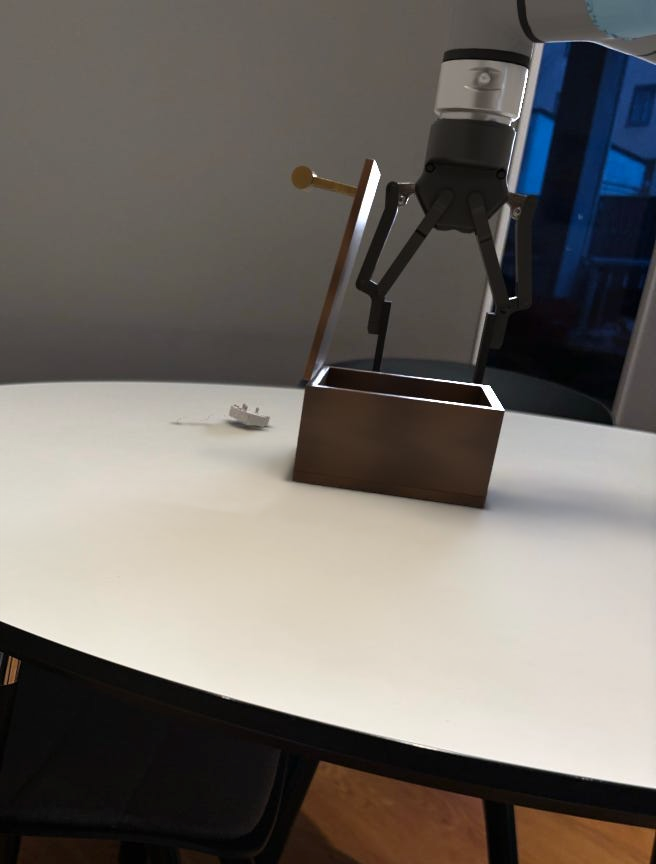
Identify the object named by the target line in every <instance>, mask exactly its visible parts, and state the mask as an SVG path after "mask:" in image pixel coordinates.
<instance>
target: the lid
mask: <svg viewBox="0 0 656 864" xmlns="http://www.w3.org/2000/svg"><path fill="white" fill-rule="evenodd" d="M380 177H381V172H380V171H379V167H378V165H377V162H376V160H375V159H373V158H371V157H365V159H364V163H363V166H362V170H361V172H360V176H359V179H358V183H357V186H353V185H350V184H346V183H342V182H340V181H339V182H338V181H335V180H330V179H327V178H323V177H319V176H318V175H317V173H316V172H315V171H314V170H313V169H312V168H310V167H309V166H308V165H305V164H301V165H298V166H296V167H295V168H294V169H293V170H292V172H291V175H290V180H291V184H292V185H293V187H295V189H297V190H300V191H302V192H303V193H311V192H313V191H315V190H316V189H321V190H325V191H328V192H332V193H336V194H340V195H344V196H346V197H347V196H348V197H351V198H353V201H352V204H351V207H350V210H349V215H348V218H347V222H346V225H345V228H344V233H343V235H342V239H341V242H340V246H339V249H338V253H337V257H336V260H335V263H334V265H333V266H334V267H333V270H332V273H331V277H330V281H329V284H328V287H327V291H326V294H325V298H324V302H323V305H322V308H321V312H320V315H319V319H318V322H317V324H316V325H317V326H316V328H315V332H314V336H313V340H312V343H311V346H310V350H309V353H308V357H307V361H306V364H305V366H304V367H305V368H304V371H303V375H302V377H301V379H302V380H305V381H310V380H311V379H312V378H313V376H314V375H315V374H316V373H317V371H318V370H319V369H320V367H321V366H322V365H324V363H325V362H326V360H327V356H328V353H329V351H330V347H331V344H332V343H331V342H332V340H333V337H334V333H335V329H336V326H337V323H338V319H339V316H340V313H341V309H342V306H343V302H344V300H345V299H344V298H345V296H346V293H347V288H348V286H349V282H350V279H351V276H352V272H353V269H354V265H355V262H356V258H357V255H358V252H359V248H360V246H361V242H362V238H363V235H364V232H365V228H366V224H367V221H368V218H369V214H370V211H371V209H372V208H371V207H372V204H373V201H374V197H375V195H376V191H377V187H378V183H379V181H380Z"/></svg>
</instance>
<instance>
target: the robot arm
mask: <svg viewBox="0 0 656 864" xmlns="http://www.w3.org/2000/svg"><path fill="white" fill-rule="evenodd" d="M451 4H452V5H451V10H450V18H449V24H448V31H447V36H446V44H445V50H444V53H443V57H442V63H441V65H440V70H439V76H438V83H437V89H436V94H435V100H434V107H433V112H434V114H435V115H437V116H438V118H437V119H436V120H434V121H433V123H432V124H430V129H429V135H428V139H427V140H428V141H427V146H426V152H425V158H424V163H423V169H422V172H421V174H420V176H419V178H417V180H416V181H415V182H397V181H394V180H391V181H389V182H388V183H387V184H386V186H385V198H384V200H385V201H384V209H383V212H382V214H381V216H380V220H379V222H378V224H377V227H376V230H375V232H374V234H373V237H372V239H371V242H370V245H369V247H368V250H367V251H366V255H365V258H364V260H363V262H362V265H361V267H360V270H359V272H358V275H357V278H356V280H355V283H354V285H355V288H356V290H358V291H360V292H362V293H364V294H366V295H368V296H369V297H370V301H371V303H370V309H369V315H368V322H367V327H366V329H367V333H368V335H375V336H376V335H377V340H376V346H375V352H374V357H373V362H372V369H371V371H373V372H381V369H382V363H383V357H384V352H385V351H384V350H385V347H386V340H387V334H388V329H389V322H390V316H391V310H392V305H393V301H392V300H386V296H387V294H388V293H389V291H390V290H391V288H392V287H393V286H394V284H395V282H396V281H397V280H398V279H399V277H400V275H401V274H402V273H403V271H404V270H405V268H406V267H407V265H408V264H409V263H410V261H411V260H412V258H413V257H414V256H415V254H416V253H417V251H418V250H419V248H420V247H421V245H423V243H424V241H425V240H426V238H427V237H428V236H429V234H430V233H431V232H432V230H433V229H434V230H435V231H436V232H450V231H455V232H457V233H461V234H464V235H465V234H466V235H471V234H474V236H475V240H476V244H477V246H478V250H479V254H480V257H481V261H482V264H483V268H484V271H485V275H486V279H487V282H488V286H489V289H490V293H491V297H492V301H493V304H494V307H495V308H494V312H491V311H490V312H489V311H486V312H485V318H484V323H483V326H482V331H481V336H480V341H479V346H478V352H477V356H476V360H475V365H474V369H473V370H474V371H473V374H472V375H473V376H472V384H476V385H483V381H484V376H485V372H486V367H487V362H488V357H489V352H490V349H492V350H500V349H501V347H502V346H503V344H504V339H505V334H506V329H507V325H508V320H509V317H510V316H511V315H512V314H513V313H515V312H519V311H522V310H527V309H530V308H531V307H532V305H533V265H532V264H533V263H532V262H533V261H532V259H533V255H532V254H533V253H532V251H533V250H532V249H533V248H532V245H533V244H532V222H533V219H534V217H535V216H534V215H535V213H536V210H537V207H538V204H539V199H538V197H537V195H535V194H528V195H525V194H520V193H516V192H512V191H510V188H509V185H508V173H509V168H510V163H511V158H512V154H513V149H514V143H515V139H516V134H517V132H516V130H515V127H514V126H512V125H511V124H512V122H515V121H516V120H518V119H519V118H520V114H521V109H522V103H523V99H524V94H525V88H526V83H527V78H528V74H529V69H530V64H531V60H532V56H533V52H534V47H535V44H538V45H539V44H540V45H541V44H549V43H567V42H568V43H569V42H588V43H589V42H590V43H594V44H597V45H600V46H602V47H605V48H607V49H611V50H613V51H615V52H616V51H617V52H619V53H622V54H625V55H628V56H633V57H635V58H637V59H639V60H642V61H645V62H647V63H649V64H653V65H654V66H656V0H452V2H451ZM412 196H415V197H416V199H417V202H418V204H419V206H420V209H421V210H422V212H423V214H424V217H423V218H422V220H421V221H420V223H419V224H418V226H417V227H416V229H414V232H413V233H412V234H411V236H410V237H409V239H407V242H406V243H405V244H404V246H403V247H402V249H401V250H400V252H399V253H398V255H397V256H396V258H395V259H394V260H393V262H392V263H391V265H390V266H389V268H387V271H386V272H385V273H384V275H383V276H382V278H381V279H380V281H379V282H378V283H376V282H375V281H373V280H372V278H373V275H374V272H375V271H376V268H377V266H378V263H379V261H380V258H381V255H382V253H383V250H384V248H385V245H386V243H387V240H388V237H389V235H390V232H391V230H392V227H393V224H394V223H395V220H396V217H397V215H398V211H399V210H398V209H399V208H400V209H401V208H404V207H405V206H406V205H407V203H408V200H409V198H411V197H412ZM504 205H507V206H508V207H509V216H510V218H511V219H513V220H515V223H514V253H515V255H514V256H515V257H514V259H515V261H514V262H515V263H514V264H515V296H514V297H509V294H508V290H507V287H506V283H505V278H504V276H503V272H502V269H501V264H500V261H499V258H498V254H497V253H498V252H497V250H496V247H495V243H494V238H493V234H492V230H491V226H490V223H489V221H490V220H491V219H492V218H493V217H494V216H495V215H496V214H497V213H498V212H499V211H500V210H501V209H502V208H503V206H504Z"/></svg>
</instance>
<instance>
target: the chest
mask: <svg viewBox="0 0 656 864" xmlns="http://www.w3.org/2000/svg"><path fill="white" fill-rule="evenodd" d="M307 381H308V380H307ZM302 399H303V400H302V407H301V414H300V421H299V428H298V436H297V440H296V441H297V442H296V448H295V454H294V463H293V470H292V476H291V481H293V482H300V483H308V484H314V485H322V486H329V487H334V488H340V489H341V488H342V489H350V490H354V491H362V492H369V493H375V494H376V493H377V494H384V495H391V496H397V497H398V496H399V497H404V498H409V499H410V498H411V499H417V500H424V501H425V500H426V501H433V502H440V503H445V504H454V505H460V506H467V507H473V508H481V509H484V508H485V504H486V499H487V496H488V491H489V486H490V481H491V476H492V472H493V468H494V463H495V458H496V453H497V448H498V445H499V440H500V435H501V431H502V426H503V421H504V416H505V412H506V410H505V409H504V407H503V406H502V404H501V402H500V401H499V399H498V396H496V394H495V392H494V391H493V389H492V388H491V386H490V385H483V384H482V385H479V384H474V383H467V382H460V381H451V380H444V379H438V378H437V379H435V378H428V377H420V376H411V375H403V374H395V373H389V372H381V371H380V372H377V371H372V370H363V369H356V368H348V367H340V366H333V365H332V366H331V365H324V364H323V365H322V366H321V367H320V369H319V370H318V371H317V373H316V374H315V375H314V376H313V378H312V379H311V380H310V381H308V382H307V383H306V384H305V386H304V394H303V398H302Z"/></svg>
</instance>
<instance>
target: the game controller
mask: <svg viewBox="0 0 656 864" xmlns="http://www.w3.org/2000/svg"><path fill="white" fill-rule="evenodd" d="M259 411H260V407H258V406H257V407H255V411H252V410H251V409H249V406H248V405H247V403H243V404H242V406H240V405H237V404H233V405H230V408H229V413H228V417H230V418H233V419H235V420H238V421H240V422H243V423H244V424H249V425H252V426H256V427H260V428H264V427H269V422H270V420H271V416H269V415H266V414H265V413H264V414H263V413H259ZM213 415H214V413H212V414H210V415H209V416H208V418H206V419H205V421H206V420H208V419H209V418H210V416H213ZM224 417H226V418H227V416H226V415H224ZM186 418H191V417H187V416H186V417H184V419H186ZM181 419H182V417H181V418H178V419H177V423H179V420H181ZM192 419H193V418H192ZM193 420H195V419H193ZM201 421H202V422H203V421H204V419H202V420H201ZM195 422H197V420H195Z"/></svg>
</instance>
